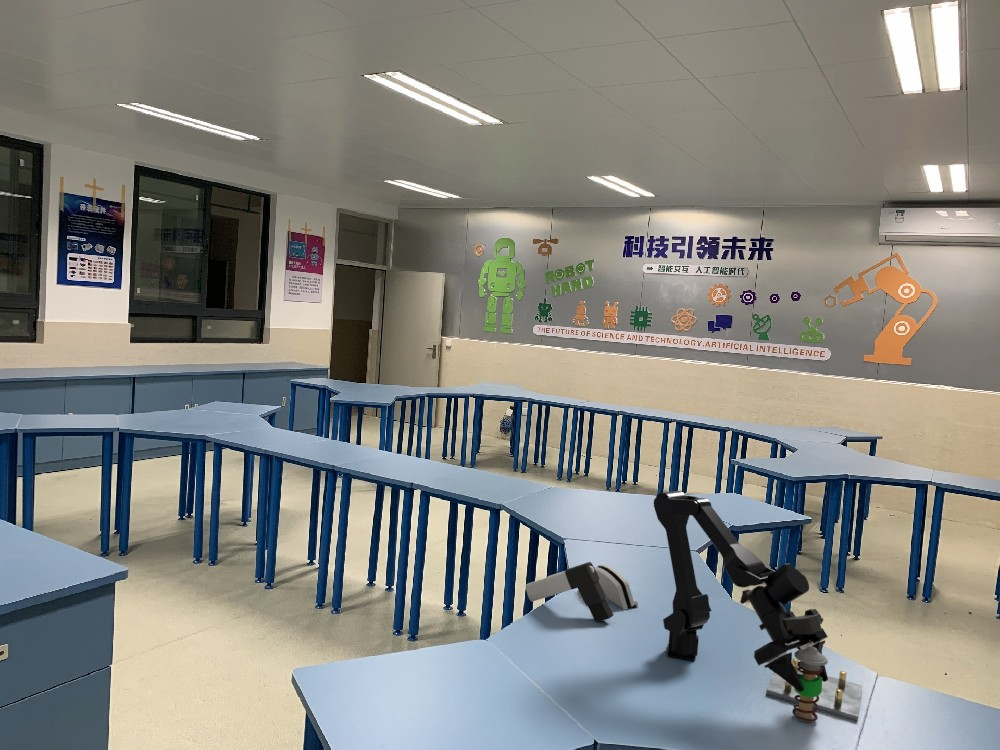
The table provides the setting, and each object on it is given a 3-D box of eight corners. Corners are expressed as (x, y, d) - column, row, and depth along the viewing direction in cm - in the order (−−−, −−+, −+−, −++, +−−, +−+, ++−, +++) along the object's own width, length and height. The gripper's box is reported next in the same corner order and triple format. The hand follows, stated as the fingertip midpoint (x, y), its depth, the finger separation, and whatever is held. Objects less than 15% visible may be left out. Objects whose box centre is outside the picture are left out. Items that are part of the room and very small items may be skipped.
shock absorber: (821, 716, 152) (829, 646, 151) (820, 730, 146) (828, 658, 145) (788, 707, 155) (796, 639, 153) (787, 721, 149) (794, 650, 148)
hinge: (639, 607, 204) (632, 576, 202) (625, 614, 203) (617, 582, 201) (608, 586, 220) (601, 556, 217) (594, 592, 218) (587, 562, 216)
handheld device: (608, 619, 190) (587, 563, 193) (541, 637, 201) (522, 584, 204) (614, 614, 193) (593, 559, 196) (548, 633, 204) (529, 581, 207)
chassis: (766, 694, 159) (767, 676, 159) (777, 667, 173) (779, 650, 173) (857, 721, 151) (859, 702, 150) (861, 690, 165) (863, 672, 164)
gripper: (772, 604, 146) (818, 682, 138) (823, 590, 157) (868, 660, 149) (735, 627, 153) (777, 702, 145) (787, 612, 164) (828, 681, 156)
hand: (814, 686), depth 149 cm, fingers open, 8 cm apart
